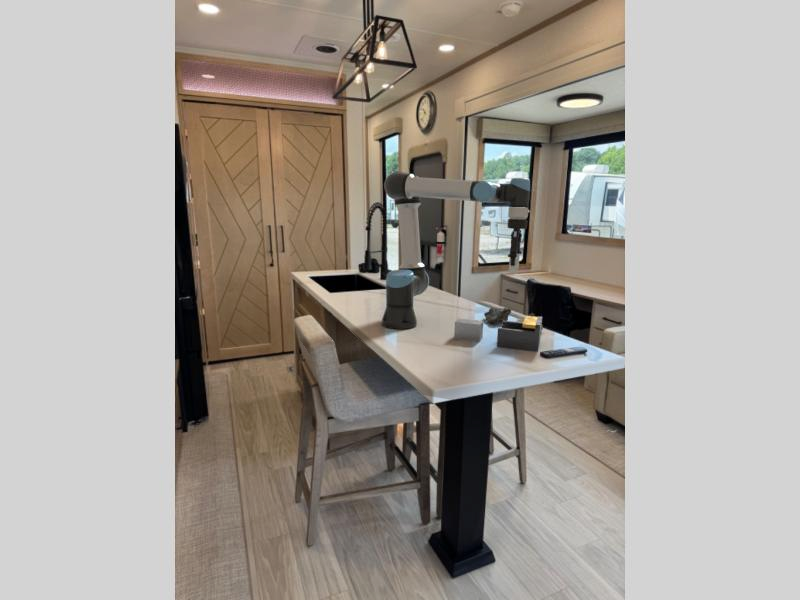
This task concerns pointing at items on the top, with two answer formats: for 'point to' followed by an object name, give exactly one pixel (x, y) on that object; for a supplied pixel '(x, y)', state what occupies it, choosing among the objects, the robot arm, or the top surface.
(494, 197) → the robot arm
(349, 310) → the top surface
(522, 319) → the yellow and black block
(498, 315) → the rock
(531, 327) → the dark grey open box
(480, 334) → the block
